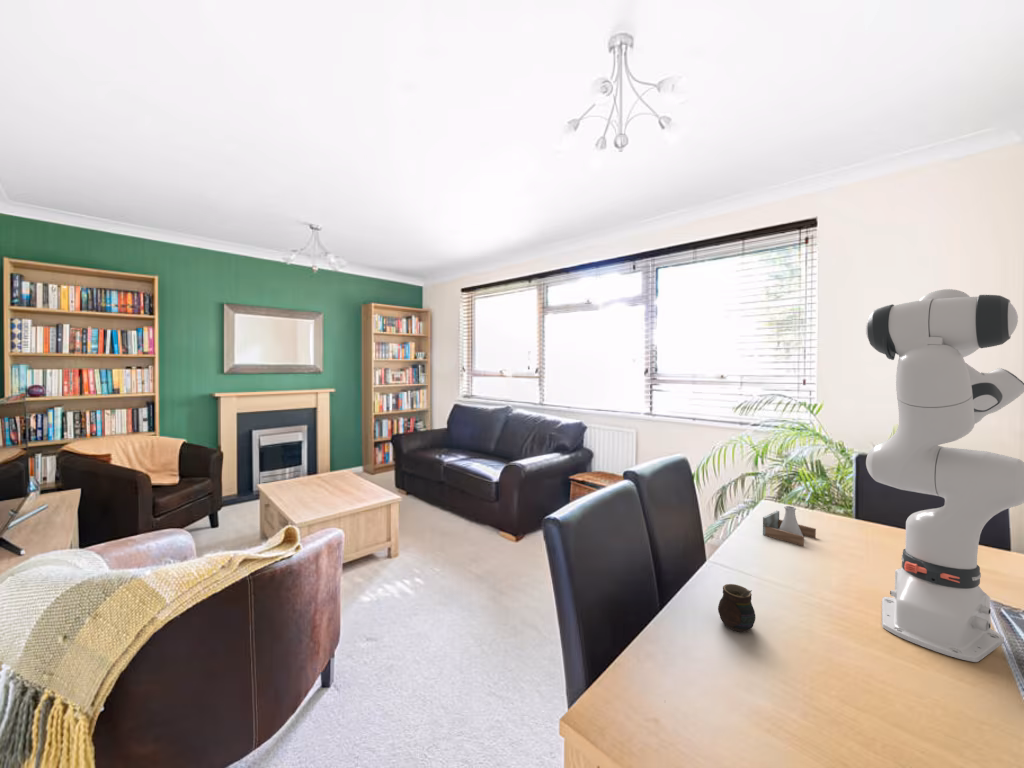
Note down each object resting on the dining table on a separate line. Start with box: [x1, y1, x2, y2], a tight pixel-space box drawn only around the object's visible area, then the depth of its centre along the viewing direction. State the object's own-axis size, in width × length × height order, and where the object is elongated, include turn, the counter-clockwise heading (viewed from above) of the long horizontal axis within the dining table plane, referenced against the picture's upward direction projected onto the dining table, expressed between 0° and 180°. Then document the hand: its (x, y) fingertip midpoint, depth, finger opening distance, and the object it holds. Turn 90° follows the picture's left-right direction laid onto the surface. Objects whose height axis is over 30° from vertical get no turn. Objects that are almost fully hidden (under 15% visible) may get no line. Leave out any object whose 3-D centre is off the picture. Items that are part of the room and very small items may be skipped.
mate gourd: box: [717, 583, 756, 633], centre depth 89 cm, size 7×8×10 cm
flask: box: [778, 505, 804, 536], centre depth 139 cm, size 7×7×10 cm
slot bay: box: [762, 510, 817, 547], centre depth 139 cm, size 12×12×6 cm
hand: (902, 446), depth 123 cm, fingers closed
